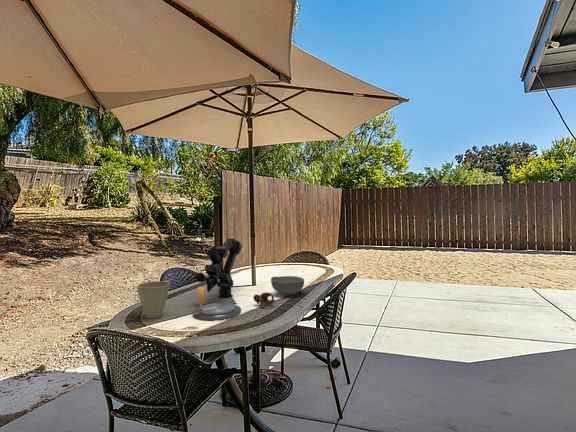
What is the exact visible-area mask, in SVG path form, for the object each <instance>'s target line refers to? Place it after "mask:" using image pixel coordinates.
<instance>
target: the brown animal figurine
mask: <svg viewBox="0 0 576 432" xmlns="http://www.w3.org/2000/svg"><path fill="white" fill-rule="evenodd" d="M269 297H271V299H269ZM274 298H275V297H274V295H273V294H272V293H271V292H267V291H266V292H262V293H261V294H254V295H253V301H254V302H256V304H257V305H260V306H261V309H265V308H266V307H270V306H272V305H273V304H274V302H275V301H276V300H275V299H274Z"/></svg>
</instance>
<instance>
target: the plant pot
mask: <svg viewBox="0 0 576 432" xmlns="http://www.w3.org/2000/svg"><path fill="white" fill-rule="evenodd" d="M169 288H170V282H168V281H164V280H163V281H162V280H158V281H147V282H141V283H139V284H138V285H137V292H138V293H137V294H138V297H139V298H138V299H139V301H140V304H141V307H142V310H143V313H144V315H145V317H146V318H147V319H156V318H160V317H161V316H162V315H163V313H164V310H165V307H166V304H167V300H168V295H169V291H170V290H169Z"/></svg>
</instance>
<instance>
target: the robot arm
mask: <svg viewBox="0 0 576 432" xmlns="http://www.w3.org/2000/svg"><path fill="white" fill-rule="evenodd" d="M242 250H243V245H242V243H241V242H240V241H238V240H236V238H227V239H226V240H225V241H224V242H223V243H222V244H221V246H217V247H216V246H212V247H211V248H209V249H208V250H207V251H206V256H207V258H208V259H209V261H210V262H211V264H205V265H204V272H206V274H204V273H203V272H196V273H195V274H194V279H196V281H197V282H198V283H204V282H205V283H206V290H207V293H209V292H211V290H213V289H214V288H215V287H219V289H218V297H220V298H222V299H225V298H230V297H233V294H232V287H234V280H233V278H232V275H231V273H232V269H233V267H234V264H235V260H236V257H237V256H238V255H239V254H240V253H241V251H242ZM225 258H226V261H225V263H224V260H223V259H225ZM223 265H224V266H223ZM222 266H223V269H222Z"/></svg>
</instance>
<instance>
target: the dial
mask: <svg viewBox="0 0 576 432" xmlns="http://www.w3.org/2000/svg"><path fill="white" fill-rule="evenodd" d="M196 288H197V292H196V293H197V305H199V307H200V308H199V313H200V314H203V315H210V316H215V315H224V314H228V313H231V312H233V311H234V310H235V306H234V305H235V304H234V303H229V302H212V303H207V304H205V286H198V287H196ZM204 304H205V305H204Z"/></svg>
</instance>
